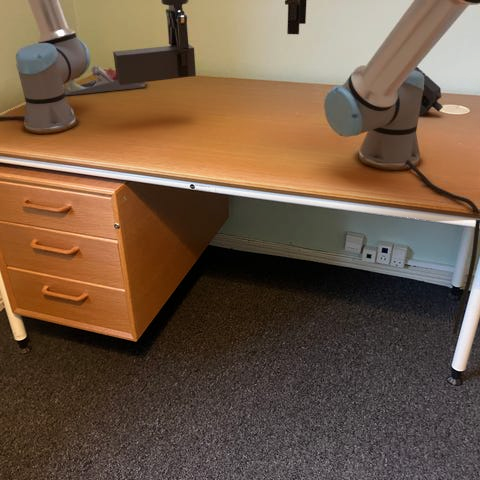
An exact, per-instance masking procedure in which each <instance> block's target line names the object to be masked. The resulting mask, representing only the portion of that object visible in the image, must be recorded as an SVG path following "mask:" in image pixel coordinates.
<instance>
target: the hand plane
mask: <svg viewBox="0 0 480 480" xmlns="http://www.w3.org/2000/svg"><path fill="white" fill-rule="evenodd" d="M90 72H91V75H93V76H94V77H97V78H95V79H90V81H89V82H86V83H80V84H78V83H77V82H76V81H75V79H73V80H71V81H69V82H67V83H65V84H63V87H64V92H65V96H74V95H84V94H94V93H104V92H112V91H113V92H114V91H121V90H132V89H142V88H146V82H142V83H134V84H125V85H120V83H119V82H118V81H117V76H116V70H115V71H114V70H113V69H112V68H111V67H109V68H108V70H107V71H105V70H104V69H103V68H102V67H100V65H94V66H92V68H91V70H90Z"/></svg>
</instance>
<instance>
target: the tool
mask: <svg viewBox="0 0 480 480" xmlns="http://www.w3.org/2000/svg"><path fill="white" fill-rule="evenodd" d="M414 70H416V71H419V72H421V73H422V74H423V75H424V91H423V95H422V101H421V107H420V113H419V116H423V115H424V114H426V113H427V112H429V111H430V110H431V109H432V108H433V109H434V110H436V111H437V112H440V111H441V110H442V109H443V107H444V106H443V105H442V104H441V103H440V102H438V101H439V100H441V98H442V96H443V95H442V91H441V87H440V86H439V85H438V84H437V83H436V82H435V81H434V80H433V79H431V78H430V77H429V76H428V75H426V73H425V72H423V70H422V69H420V67H418V66H417V67H416V68H415V69H414Z"/></svg>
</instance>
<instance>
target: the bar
mask: <svg viewBox="0 0 480 480" xmlns="http://www.w3.org/2000/svg"><path fill="white" fill-rule="evenodd" d="M176 52H178V48H177V45H174V46H170V45H167V46H166V45H165V46H164V45H163V46H156V47H146V48H138V49H137V48H135V49H126V50H116V51H115V50H114V51H112V53H113V62H114V68H115V72H116V76H117V81H118V82H119V83H120V85H125V84H134V83H142V82H144V83H148V82H149V83H150V82H158V81H166V80H174V79H183V78H190V77H196V76H197V73H196V72H197V71H196V57H195V55H196V53H195V47H194V46H192V45H191V44H189V52H187V62H188V76H183V77H179V71H178V58H177V54H176Z"/></svg>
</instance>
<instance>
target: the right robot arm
mask: <svg viewBox="0 0 480 480" xmlns="http://www.w3.org/2000/svg"><path fill="white" fill-rule="evenodd" d="M284 5H285V6H287V27H286V28H287V29H286V30H287V31H286V32H287V34H286V35H300V25H306V22H307V0H284ZM476 5H480V0H413V1H412V2H411V4H410V5H409V7H408V8H407V9H406V10H405V12H404V13H403V14H402V16H401V18H400V19H399V20H398V22H396V24H395V25H394V27H393V28H392V30H391V31H390V32H389V34H388V35H387V36H386V38H385V39H384V40H383V42H382V43H381V44H380V46H379V47H378V49H377V50H376V51H375V53H374V54H373V55H372V57H371V58H370V59H369V61H368V62H367V63H366V65H360V66H357V67H356V68H354V70H353V71H352V72H351V74H350V75H349V77H348V78H347V79H346V81H345V82H344V83H343V84H342V85H336V86H334V87H332V88H331V89H330V90H328V91H327V93H326V95H325V98H324V100H323V101H324V103H323V106H324V107H323V109H324V114H325V118H326V122H327V123H328V125H329V127H330V129H331V130H332V131H333V132H334V133H335V134H337V135H338V136H340V137H345V138H350V137H356V136H359V135H361V134H364V133H366V135H364V136H365V137H364V138H363V141H362V143H361V145H360V147H359V151H358V159H359V160H360V162H362V163H363V164H364V165H367V166H369V167H372V168H374V169H378V170H385V171H403V170H408V169H412V170H413V172H415V174H417V176H419V178H421V179H422V181H423V182H424V183H425V184H426V185H427V186H428V187H429V188H430V189H432V190H434V191H435V192H437V193H439V194H442V195H444V196H446V197H448V198H450V199H453V200H455V201H460V202H463V203H465V204H468V205H469V206H470V207H471V209H472V210H473V212H474V213H475V214H477V215H480V211H479V208H478V207H477V205H476V204H475V203H474V201H472V200H470V199H469V198H467V197H463V196H459V195H457V194H453V193H452V192H449V191H447V190H445V189H442V188H440V187H439V186H436V185H435V184H433V183H432V182H431V181H430V180H429V179H428V178H427V177H426V175H424V174H423V173H422V172H421V171H420V170H419V169H418V168H417V166H418V164H419V163H420V158H421V153H420V151H421V150H420V146H419V140H418V135H417V130H418V124H419V119H420V115H419V113H420V107H421V101H422V95H423V91H424V75H423V74H422V73H423V72H422V73H421V72H419V71H416V70H414V69H415V68H416V67H418V66H419V65H420V64H421V62H422V61H423V60H424V59H425V58H426V56H427V55H428V54H429V53H430V52H431V50H432V49H433V48H434V47H435V46H436V45H437V44H438V42H439V41H440V40H441V39H442V38H443V37H444V36H445V34H446V33H447V32H448V31H449V29H450V28H451V27H452V26H453V25H454V24H455V22H456V21H457V20H458V19H459V17H461V15H462V14H463V13H464V12H465V11H466V9H468V7H469V6H476ZM474 224H475V225H474V233H473V245H472V250H471V251H472V252H471V257H470V263H469V267H468V268H469V269H468V273H467V278H466V282H465V286H464V289H463V293H462V296H461V299H460V304H459V307H458V309H457V313H456V317H455V321H454V325H453V330H452V334H454V335H457V334H458V330H459V326H460V322H461V318H462V315H463V311H464V308H465V305H466V301H467V297H468V294H469V290H470V286H471V283H472V280H473V279H472V278H473V275H474V270H475V265H476V259H477V252H478V247H479V246H478V245H479V234H480V219H475V223H474Z"/></svg>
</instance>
